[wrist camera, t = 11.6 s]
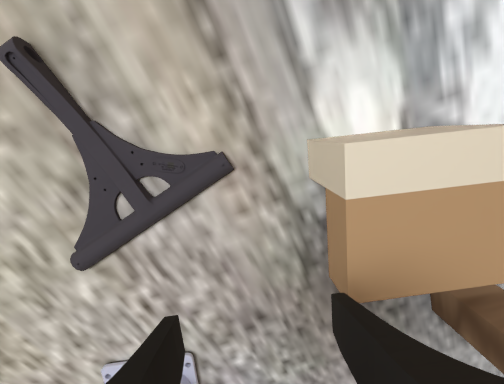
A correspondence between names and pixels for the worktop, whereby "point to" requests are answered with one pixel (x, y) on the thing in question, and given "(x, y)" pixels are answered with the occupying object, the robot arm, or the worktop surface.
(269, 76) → the worktop surface
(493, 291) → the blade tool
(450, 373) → the robot arm
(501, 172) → the tan block
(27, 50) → the bracket
